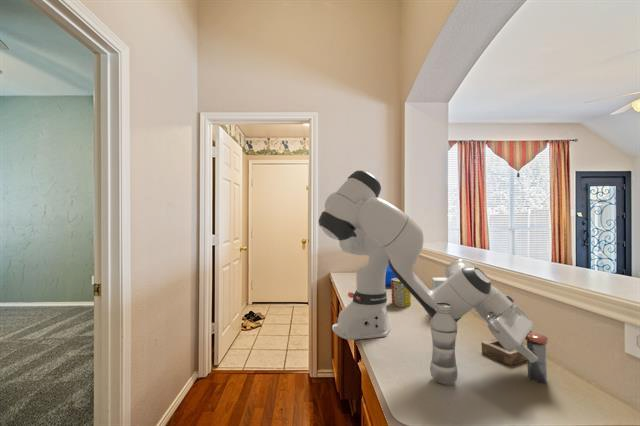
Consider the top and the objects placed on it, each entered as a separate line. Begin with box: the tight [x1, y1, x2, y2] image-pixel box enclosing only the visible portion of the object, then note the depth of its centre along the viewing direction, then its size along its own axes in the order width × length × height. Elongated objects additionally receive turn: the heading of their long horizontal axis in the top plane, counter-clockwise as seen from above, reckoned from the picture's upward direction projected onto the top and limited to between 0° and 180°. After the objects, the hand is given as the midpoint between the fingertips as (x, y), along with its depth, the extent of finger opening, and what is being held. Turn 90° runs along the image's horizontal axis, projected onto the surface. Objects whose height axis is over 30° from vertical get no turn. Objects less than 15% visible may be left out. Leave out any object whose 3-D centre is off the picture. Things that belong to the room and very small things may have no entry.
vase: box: [385, 264, 397, 287], centre depth 185 cm, size 18×18×19 cm
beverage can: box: [390, 278, 412, 308], centre depth 142 cm, size 9×9×12 cm
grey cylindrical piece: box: [525, 332, 549, 384], centre depth 76 cm, size 5×5×11 cm
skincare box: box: [431, 277, 448, 290], centre depth 126 cm, size 8×7×16 cm
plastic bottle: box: [429, 302, 459, 386], centre depth 75 cm, size 6×7×20 cm
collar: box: [481, 338, 527, 366], centre depth 89 cm, size 9×9×3 cm
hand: (538, 354), depth 75 cm, fingers open, 8 cm apart
